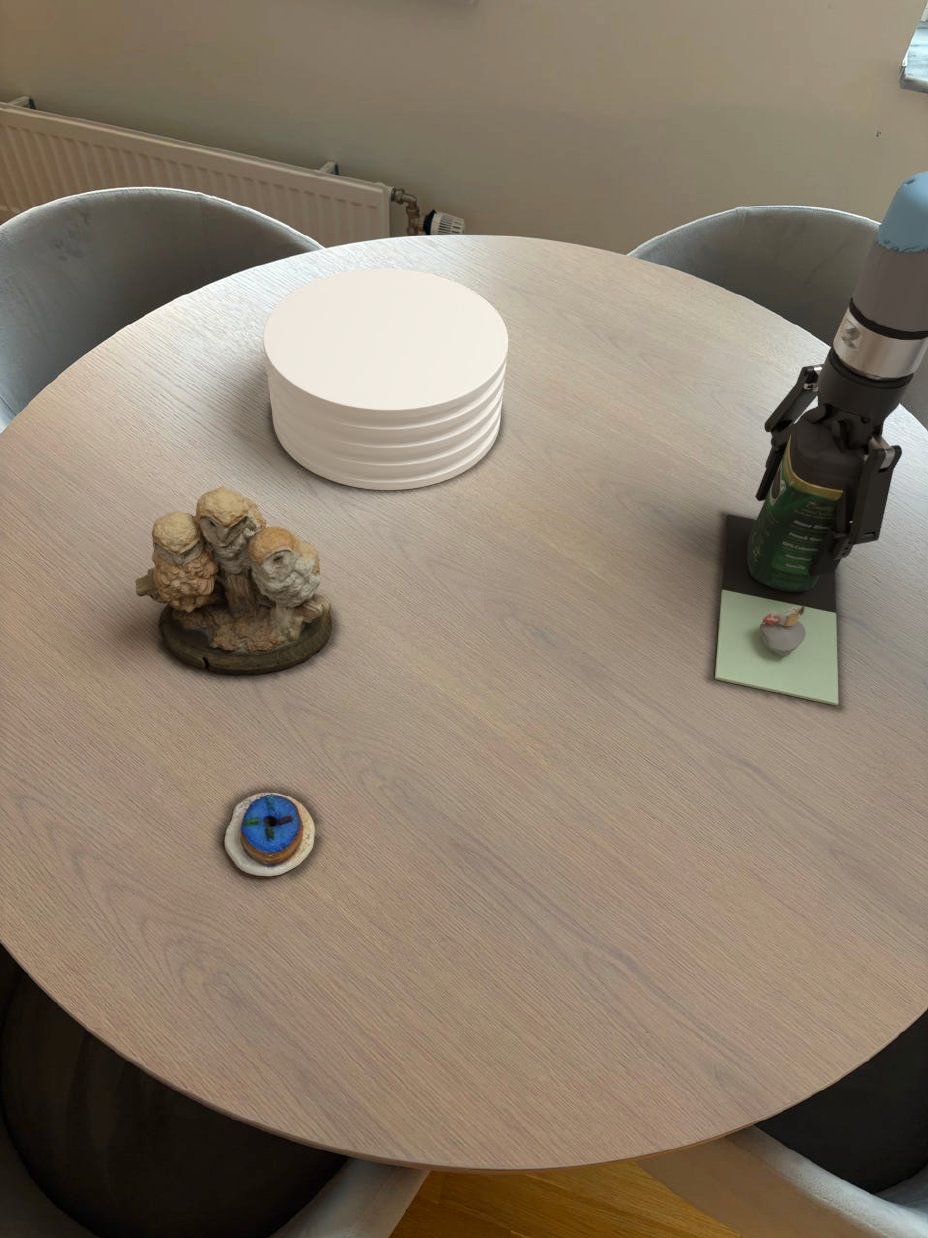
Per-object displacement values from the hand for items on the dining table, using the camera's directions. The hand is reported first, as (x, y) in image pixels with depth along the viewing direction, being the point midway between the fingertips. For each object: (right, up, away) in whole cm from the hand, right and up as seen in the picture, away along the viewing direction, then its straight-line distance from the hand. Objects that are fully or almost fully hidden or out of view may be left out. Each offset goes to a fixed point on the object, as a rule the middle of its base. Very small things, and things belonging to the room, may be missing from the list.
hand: (793, 533), depth 101 cm
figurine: (-3, -12, -4) cm, 13 cm away
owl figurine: (-57, -10, -6) cm, 58 cm away
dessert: (-52, -28, -20) cm, 62 cm away
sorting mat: (-2, -8, 0) cm, 8 cm away
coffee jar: (0, -3, +3) cm, 5 cm away
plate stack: (-45, +16, +17) cm, 50 cm away
